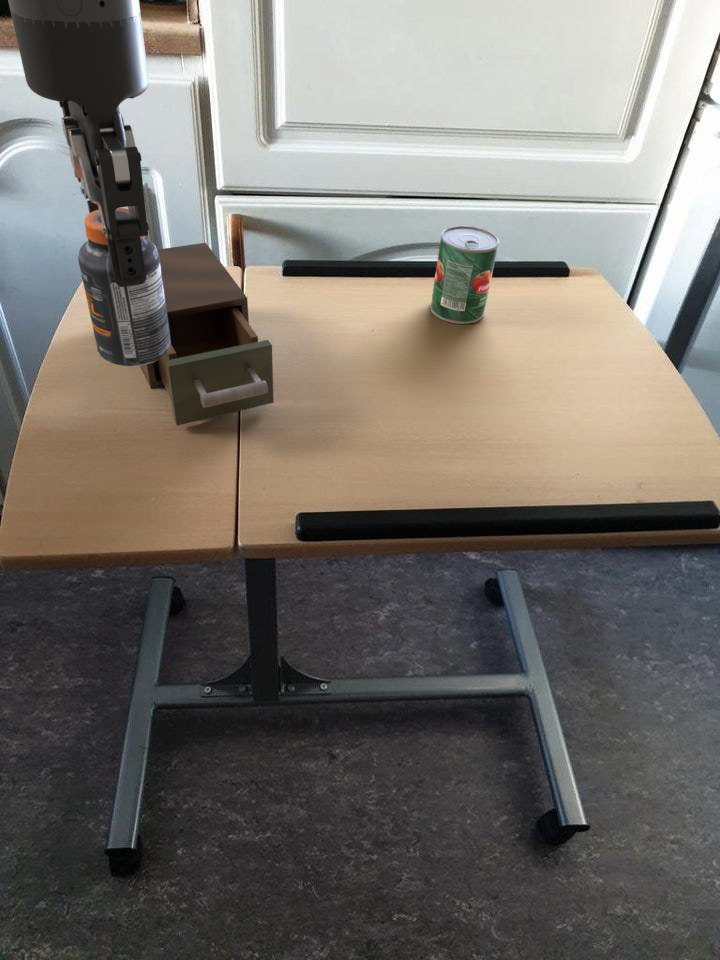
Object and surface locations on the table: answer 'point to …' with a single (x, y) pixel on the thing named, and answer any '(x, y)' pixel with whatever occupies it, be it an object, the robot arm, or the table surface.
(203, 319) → the drawer
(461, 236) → the canned tomato
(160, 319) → the pill bottle
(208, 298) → the cabinet
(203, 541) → the table surface
